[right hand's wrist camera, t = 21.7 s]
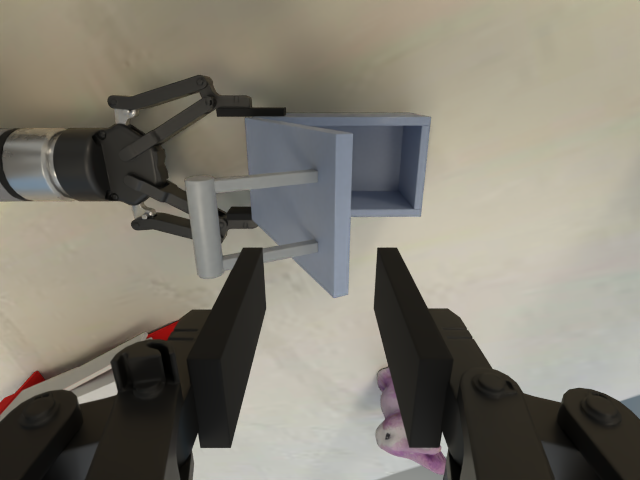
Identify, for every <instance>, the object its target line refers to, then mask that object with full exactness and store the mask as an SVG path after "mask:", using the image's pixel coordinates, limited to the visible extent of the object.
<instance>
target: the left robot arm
mask: <svg viewBox="0 0 640 480" xmlns="http://www.w3.org/2000/svg"><path fill="white" fill-rule="evenodd" d="M198 92H200V94H201V97H202V99H201V100H199V101H197V102H196V103H194V104H193V105H191V106H190V107H188V108H187V109H185V110H184V111H182V112H181V113H179V114H178V115H176V116H174V117H173V118H171V119H170V120H168V121H167V122H165V123H164V124H162V125H161V126H159V127H158V128H156V129H154V130H152V131H150V132H148V133H147V134H145V133H143V132H142V131H140V130H139V129H137V128H136V127H134V126H133V125H131V124H130V120H131V119H132V118H134V117H137V116H138V115H139V109H147V108H151V107H154V106H157V105H161V104H164V103H167V102H170V101H173V100H176V99H179V98H183V97H186V96H189V95H192V94H195V93H198ZM107 102H108V105H109V106H110V107H111V108H114V114H115V122H116V124H114V125H113V126H111V127H109V128H69V129H64V128H15V129H0V202H1V201H75V200H78V201H121V202H124V203H126V204H128V205H131V207H132V211H133V215H134V218H135V220H133V221H132V223H131V226H132V228H133V229H135V230H150V229H154V230H158V231H162V232H166V233H170V234H174V235H178V236H182V237H186V238H190V239H193V238H192V231H191V224H190V219H186V218H182V217H178V216H174V215H170V214H166V213H156V211H155V209H153V208H149V207H146V206H145V204H144V201H145V200H147V199H148V198H149V197H152V198H154V199H156V200H158V201H160V202H166V203H168V204H170V205H172V206H174V207H176V208H178V209H180V210H182V211H184V212H186V213H188V214H189V209H188V201H187V194H186V191H184V190H182V189H180V188H178V187H177V185H175V184H174V183H172V182H170V181H168V180H167V178H168V171H167V168H166V166H165V151H164V149H162V147H161V146H160V145H161V144H163V143H165V142H166V141H168V140H169V139H170V138H171V137H173V136H175V135H176V134H178V133H179V132H181V131H182V130H184V129H186V128H187V127H189V126H190V125H192V124H193V123H195V122H196V121H198V120H200V119H201V118H203V117H204V116H206V115H207V114H209V113H211V112H212V111H214V110H215V109H216V111H217V117H253V116H285V115H286V108H252V98H251V97H249V96H223V95H219V94H218V93H217V92H216V90H215V88H214V86H213V81H212V79H211V78H210V77H207V76H202V75H197V76H194V77H191V78H188V79H185V80H182V81H178V82H175V83H172V84H169V85H166V86H163V87H160V88H157V89H153V90H150V91H147V92H144V93H141V94H138V95H135V96H121V95H113V96H110V97H109V98H108V101H107ZM218 218H219V227H220V237H221V244H222V242H223V240H224V239H225V237H226V236H227V231H228V229H247V228H248V229H253V228H256V227H258V225H257V224H256V223H255V222H254V221H253V220H252V212H251V207H231V208H230V209H229V211H228V212H227V213H226V212H224V211H222V210H220V209H219V208H218Z"/></svg>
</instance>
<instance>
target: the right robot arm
mask: <svg viewBox="0 0 640 480" xmlns="http://www.w3.org/2000/svg"><path fill="white" fill-rule="evenodd" d="M265 311H266V297H265V280H264V264H263V248H243V249H242V251H241V253H240V255H239V257H238V259H237V261H236V263H235V265H234V267H233V269H232V270H231V272H230V274H229V276H228V278H227V280H226V282H225V284H224V286H223V288H222V290H221V292H220V294H219V296H218V298H217V300H216V302H215V304H214V306H213V308H212V310H191V311H190V312H189V313H187V314H186V315H184V316H183V317H182V318H180V320H179V321H178V323H177V324H176V326H175V328H174V329H173V331H172V332H171V334H170V336H169V337H168V340H166V341H165V340H161V339H148V340H144V341H140V342H136V343H134V344H132V345H129V346H127V347H125V348H124V349H122V350H121V351H119V352H118V353H117V354H116V355H115V356H114V357H113V359H112V360H111V361H110V363H111V367H112V371H113V375H114V379H115V383H116V387H117V391H118V392H117V395H114V396H111V397H107V398H104V399H99V400H95V401H91V402H86V403H82V404H79V402H78V398H77V396H76V395H75V394H74V393H73V392H72V391H68V390H62V389H61V390H52V391H47V392H44V393H41V394H38V395H35V396H33V397H31V398H30V399H28V400H26V401H24V402H22V403H21V404H19V405H18V406H17V407H16V408H14V409H13V410H12V411H11V412H9V413H8V414H7V415H6V416H5V417H4V418H3V419H2V420H1V421H0V480H193V470H194V460H193V453H192V448H193V445H194V442H195V439H196V437H197V434H198V435H199V441H200V448H231V445H232V441H233V437H234V433H235V429H236V425H237V421H238V417H239V413H240V409H241V405H242V401H243V397H244V394H245V390H246V386H247V382H248V378H249V374H250V370H251V366H252V362H253V358H254V354H255V350H256V346H257V342H258V338H259V335H260V331H261V327H262V323H263V319H264V315H265ZM374 311H375V315H376V319H377V323H378V327H379V331H380V335H381V338H382V342H383V346H384V350H385V354H386V358H387V362H388V366H389V370H390V374H391V378H392V382H393V386H394V390H395V394H396V398H397V401H398V405H399V409H400V413H401V417H402V421H403V425H404V429H405V433H406V437H407V441H408V445H409V448H440V441H441V435H442V432H443V435H444V437H445V440H446V443H447V446H448V453H447V459H446V465H445V471H444V477H443V480H640V419H639V418H638V417H637V416H636V415H635V414H634V413H633V412H632V411H631V410H630V409H628V408H627V407H626V406H625V405H623V404H622V403H621V402H620V401H618V400H616V399H614V398H612V397H610V396H608V395H606V394H604V393H601V392H598V391H595V390H592V389H584V388H575V389H570V390H568V391H567V392H566V393H565V394H564V395H563V398H562V402H561V403H560V402H556V401H552V400H547V399H543V398H539V397H534V396H531V395H528V394H524V393H523V392H522V390H521V389H520V387H519V385H518V384H517V383H516V382H515V381H514V380H513V379H511V378H510V377H509V376H508V375H506V374H504V373H502V372H500V371H498V370H494V369H492V367H491V366H490V364H489V362H488V361H487V359H486V358H485V356H484V355H483V353H482V351H481V350H480V348H479V347H478V345H477V343H476V342H475V340H474V339H472V336H471V334H470V332H469V331H468V330H467V328H466V326H465V325H464V323H463V321H462V320H461V318H460V317H459V316H457V315H456V314H455V313H453V312H452V311H450V310H449V309H428V308H427V306H426V304H425V302H424V300H423V298H422V296H421V294H420V292H419V290H418V288H417V286H416V284H415V282H414V280H413V278H412V276H411V274H410V272H409V270H408V269H407V267H406V265H405V263H404V261H403V259H402V257H401V255H400V253H399V251H398V249H397V248H377V264H376V280H375V297H374Z"/></svg>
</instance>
